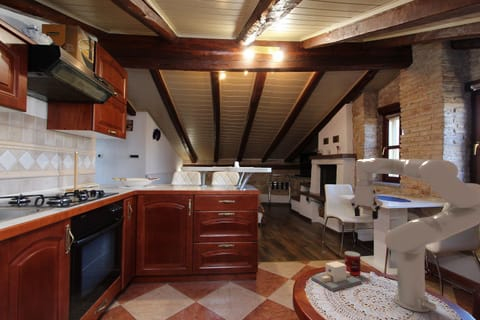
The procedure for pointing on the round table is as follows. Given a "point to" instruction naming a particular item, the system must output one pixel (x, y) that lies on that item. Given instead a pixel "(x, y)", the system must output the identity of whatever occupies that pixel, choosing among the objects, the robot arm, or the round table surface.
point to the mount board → (333, 286)
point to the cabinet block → (336, 271)
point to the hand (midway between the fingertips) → (366, 217)
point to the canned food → (352, 263)
